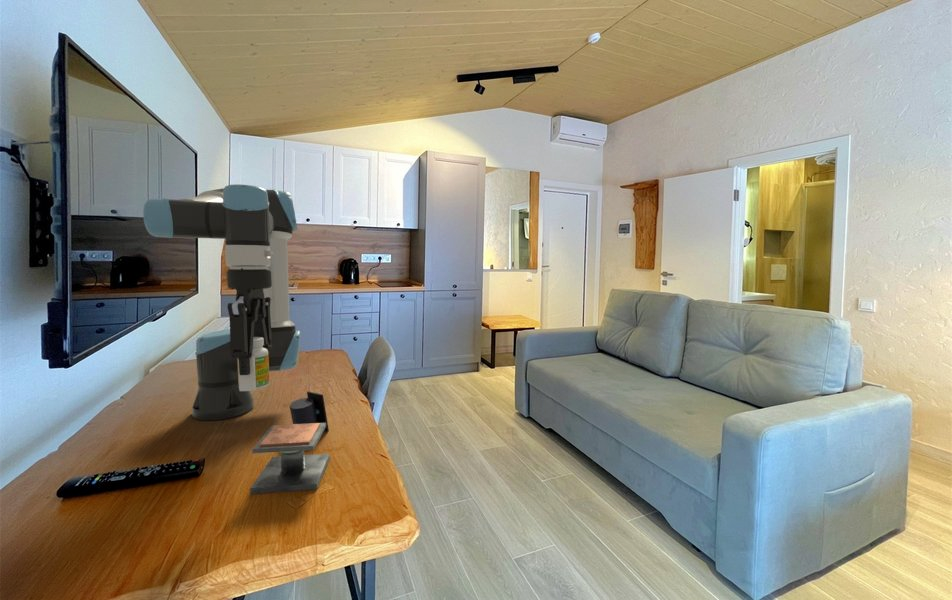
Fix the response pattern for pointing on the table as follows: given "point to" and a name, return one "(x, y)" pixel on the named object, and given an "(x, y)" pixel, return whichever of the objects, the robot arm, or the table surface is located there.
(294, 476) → the stand
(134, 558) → the table surface
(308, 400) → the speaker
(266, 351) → the supplement bottle
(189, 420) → the table surface
